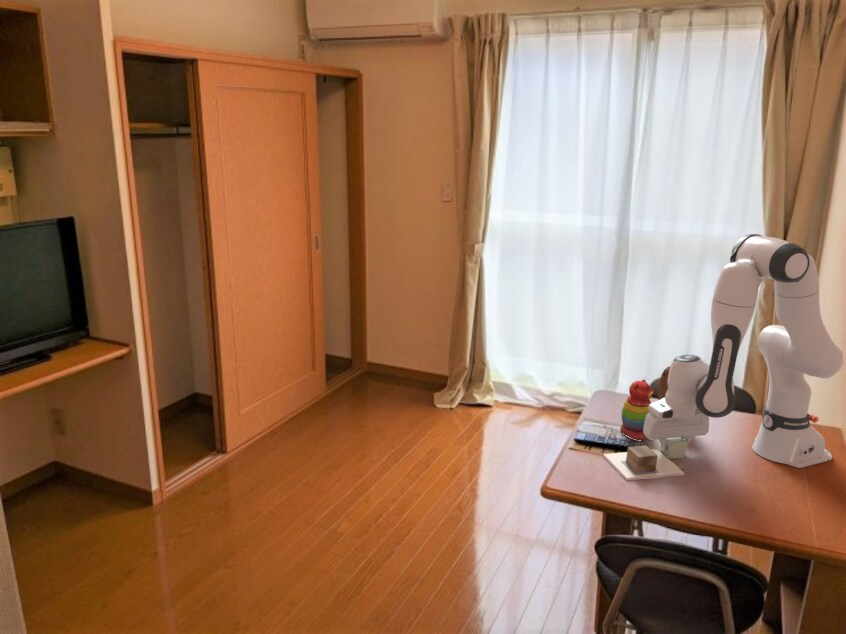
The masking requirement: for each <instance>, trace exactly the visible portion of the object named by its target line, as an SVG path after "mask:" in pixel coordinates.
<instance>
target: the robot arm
mask: <svg viewBox="0 0 846 634" xmlns="http://www.w3.org/2000/svg"><path fill="white" fill-rule="evenodd" d="M817 269H818V268H817V265H816V261H815V259H814V258H813V256H812V255H810V254H809V253H808V252H807V250H805V249H804V248H803V247H802V246H801V245H798V244H796V243H793V242H790V241H788V240H784V239H782V238H778V237H773V236H772V237H771V236H764V235H762V234H759V233H758V234H757V233H754V234H753V233H752V234H751V233H750V234H744V235H742V236H741V237H740V238H738V240H737V241H736V242H735V244H734V246H733V248H732V250H731V254H730V257H729V263H727V264H726V265H725V266H724V267H723V268H722V270H721V272H720V274H719V277H718V279H717V281H716V285H715V288H714V291H713V297H712V302H711V309H710V310H711V312H710V326H711V335H712V352H711V357H710V362H709V364H708V362H707V363H706V362H705V361H704V360H703V359H702V358H701V357H700V356H698V355H696V354H682V355H679V356H676V357H675V358H674V359H673V360H672V361H671V364H670V365H669V366H670V370H669V375H668V381H667V384H668V390H667V392H666V395H665V398H663V399H661V400H659V399H658V400H657V401H654V402H651V404H649V406H648V410H649V411H650V412H649V413H648V414H647V416H646V418H645V422H644V428H643V433H644V435H645V436H646V437H645V438H648V440H658V441H659V444H660V447H659V448H660V451H661V450H662V451H667V450H668V445H666V443H665V442H664V441H666V438H677V437H681V438H682V439H683V440H685V441H686V442H687V445H686V450H687V449H688V445H689V443H690V442H691V441H692V439H693V437H699V436H706V435H707V434H708V433H709V430H710V418H715V419H716V418H717V419H719V418H723V417H724V418H725V417H726V416H728V415H729V414H731V413H732V412H733V411H734V409H735V406H736V397H735V382H734V379H733V378H734V374H735V369H736V363H737V360H738V354H739V351H740V349H741V345H742V343H743V340H744V338H745V336H746V334H747V331H748V330H749V327H750V325H751V322H752V320H753V316H754V313H755V311H756V306H757V301H758V296H759V288H760V286H761V284H762V283H763V282H764V280H765V279H769V280H774V284H773V286H774V287H773V288H774V309H775V310H774V311H775V316H776V319H777V320H778V321H779V323H780V324H781V325H779V324H771V325H767V326H766V327H764V328H763V329H762V330H761V332H760V333H759V335H758V337H757V348H758V350H759V351H760V353H761V354H762V357H763V358H764V360H765V363H766V367H767V371H768V376H769V379H768V380H769V381H768V383H769V386H768V393H767V400H766V404H765V405H764V408H763V412H762V419H761V420H762V421H761V423H760V426H759V429H758V433H757V435H756V436H755V438H754V442H753V444H752V446H751V448H752V450H753V451H754V452H755V454H757V455H759V456H760V457H762V458H764V459H767V460H769V461H772V462H774V463H775V462H776V463H779V464H786V465H788V466H791V467H794V468H799V469H802V468H806V467H809V466H813V465H816V464H821V463H825V462H829V461H832V460H833V456H832V453H830V452H829V450H827V449H826V440H825V437H824V436H823V435H822V433H820V432H819V431H817V429H815V428H814V427H813V426H812V425H811V422H812V423H813V424H817V423H818V422H819V417H818V416H816V415H815V414H810V413H808V412H809V407H810V403H811V402H810V401H811V399H812V388H811V387H810V385H809V383H808V382H807V381H806V378H805V377H804V375H807V376H810V377H815V378H821V379H830V378H832V377H834V376H835V375H837V373H839V372H840V370H841V369H842V366H843V364H844V355H843V352H842V350H841V349H840V348H839V347H838V346H837V345H836V343H835V342H834V341H833V339H832V337H830V335H829V333H828V331H827V328H826V326H825V324H824V322H823V321H824V320H823V319H822V315H821V308H820V307H821V306H820V285H819V275H818V270H817ZM662 451H661V452H662ZM831 459H832V460H831ZM828 460H829V461H828Z"/></svg>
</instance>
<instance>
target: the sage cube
mask: <svg viewBox="0 0 846 634" xmlns="http://www.w3.org/2000/svg"><path fill="white" fill-rule="evenodd" d="M683 439H684V438H683V437H677V438H666V441H664V442H665V443H666V445H668V450H667V451H662V450H661V449H660V452H661V453H662V454H663V455H665V456H666V457H667V456H668V457H667V458H668V459H680V458H681V459H682V458H685V457H686V451H687V449H686V445H687V446H688V444H687V442H686V441H685V440H683Z"/></svg>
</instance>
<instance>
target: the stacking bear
mask: <svg viewBox="0 0 846 634" xmlns="http://www.w3.org/2000/svg"><path fill="white" fill-rule="evenodd" d="M628 390H629V391H628V392H629V396H628V397H627V398H626V399H625V401H624V403H623V405H622V409H621V422H622V424H621V426H620V428H619V430H620V433H624V434H625V435H627V436H629V437H631V438H633V439H636V440H641V442H644V441H645V440H646V438H647V437H646V436H645V435H644V433H643V428H644V422H645V418H646V416H647V414H648V413H649V412H650V411H649V410H648V406H649V404H651V403H652V402H651V400H650V399H652V398H653V396H654V390H653V389H652V387H651V385H650V384H649V383H648V382H647V381H646V379H642V380H636V381H633V382H632V383H631V384H630V386H629V389H628ZM624 434H623V435H624ZM625 435H624V436H625Z"/></svg>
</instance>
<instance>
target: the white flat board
mask: <svg viewBox="0 0 846 634" xmlns="http://www.w3.org/2000/svg"><path fill="white" fill-rule="evenodd" d="M651 450H652V451H653V452H654V453H655V454H657V455H658V456H657V463H656V470H655V471H651V472H641V473H636V472H635V471H634V470H633V469H632V468H631V467H630V466H629V465H628V464H627V463H626V457H627V451H625V452H613V453H603V455H602V456H603V459H605V460H606V461H607V463H609V464H610V466H612V468H614V469H615V471H617V472H618V473H619V475H621V477H623V478H624V480H625V481H627V482H628V481H637V480H638V481H639V480H647V479H656V478H658V479H659V478H666V477H669V478H670V477H675V476H677V477H678V476H684V475H685V472H684V471H683V470H682V469H681V468H680V467H678V466H677V465H676V464H675V463H674V462H673V461H672V460H671V459H670V458H669V457H667V456H666V455H665V454H664V453H663V452H662V451H661V450H659V449H651Z"/></svg>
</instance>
